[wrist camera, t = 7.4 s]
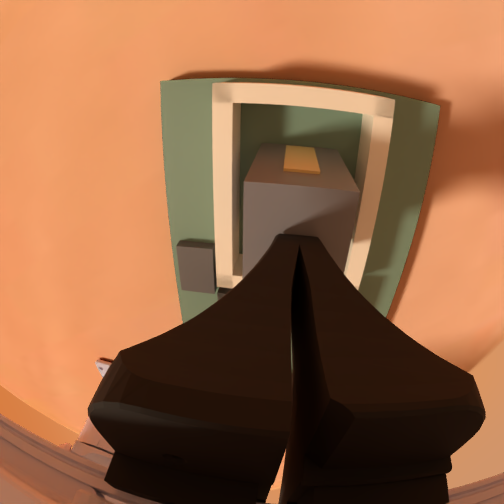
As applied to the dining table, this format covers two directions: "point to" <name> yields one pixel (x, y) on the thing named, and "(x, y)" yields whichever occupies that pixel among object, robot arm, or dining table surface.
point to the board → (290, 133)
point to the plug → (298, 200)
